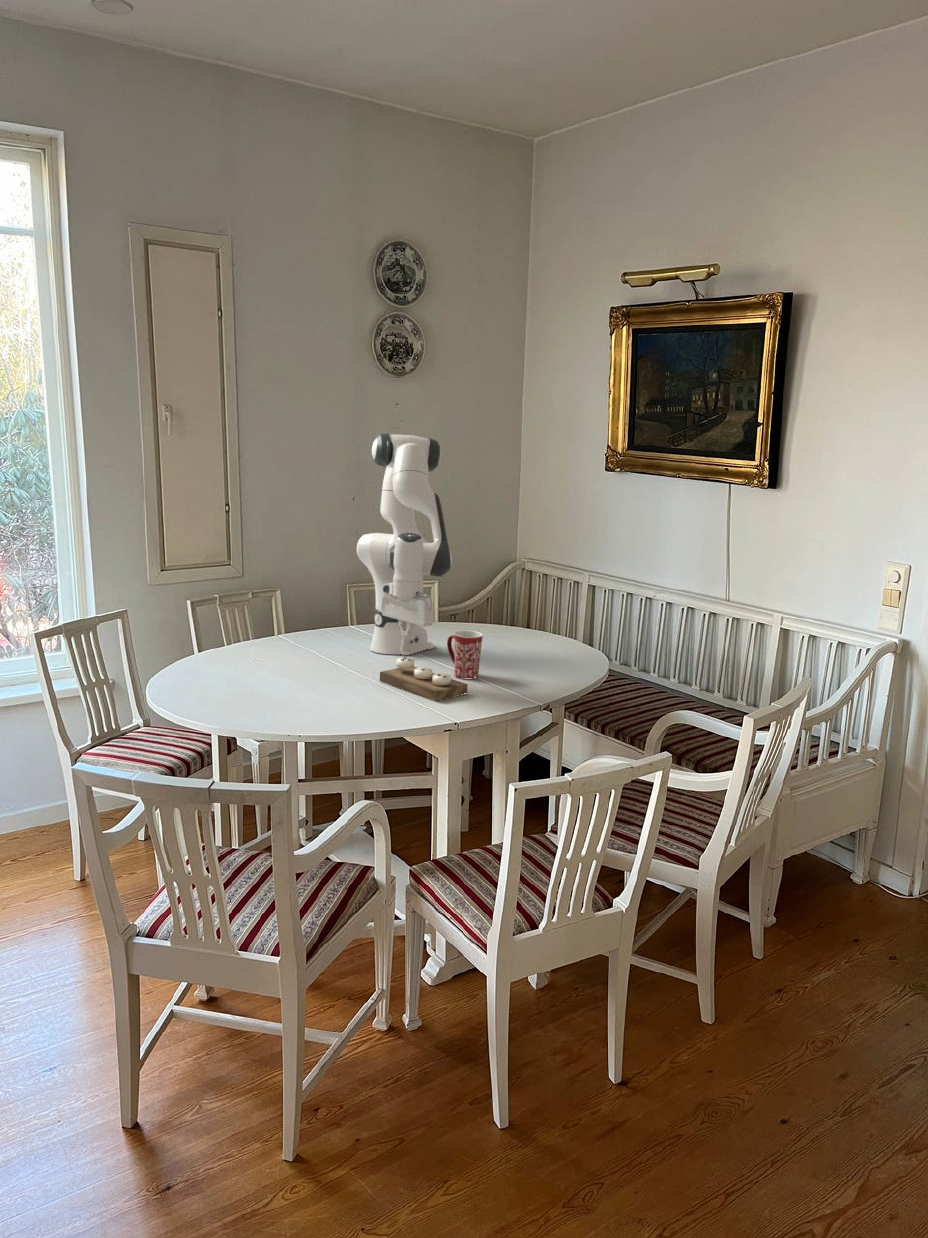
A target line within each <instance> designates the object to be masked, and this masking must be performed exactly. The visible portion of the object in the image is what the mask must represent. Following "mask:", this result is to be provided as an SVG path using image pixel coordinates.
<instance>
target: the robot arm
mask: <svg viewBox="0 0 928 1238" xmlns="http://www.w3.org/2000/svg"><path fill="white" fill-rule="evenodd" d="M371 456H372V460H373V462H374V463H375V464H376V465H377V466H380V467H383V468H385V471H384V476H383V481H382V487H381V498H380V507H379V508H380V509H379V512H380V515H381V517H382V519H384V520H385V521H386V522H388V523H389V524H390V525H391V527H392V530H393V531H392V532H393V534H392V533H383V532H373V533H372V532H371V533H365V534H362V536H361V537H360V538H359V539H358V541H357V545H356V555H357V557H358V560H360V561H361V562H362V564H364V565H365V566H366V567H367V570H368V572H369V573H370V575H371V578H372V580H373V584H374V589H375V590H374V591H375V607H374V608H373V620H374V626H373V627H374V628H373V635H372V638H371V639H372V640H371V644H370V646H369V650H370V651H372V652H374V653H378V654H382V655H400V654H401V656H411V655H414V653H415V654H417V652H418V653H421V652H424V651H423V650H425V651H427V650H426V649H428V650H430V649H431V650H432V649H435V644H434V643H433V642H431V641H429V640H428V633H427V630H426V629H425V627H430V626H432V625H433V624H434V620H435V617H434V616H435V615H434V605H433V599H432V598H431V597H430V594H428V593H424V576H431V577H438V578H441V577H443V576H445V575H446V574H447V573H448V572H449V571H450V570H451V567H452V564H453V557H452V553H451V552H452V551H451V549H450V547H449V546H450V545H449V541H448V537H447V531H446V523H445V519H444V513H443V508H442V503H441V500H440V497H439V495H438V494H437V493H436V492H434V491H433V490H432V487H431V486H430V481H429V472H433V471H434V470H435V469H437V468H438V466H439V463H440V461H441V457H442V450H441V445H440V443H439V442H438V441H437V440H436V439H434V438H430V437H423V436H418V435H412V434H392V433H391V434H389V433H378V435H377V436H376V437H375V438H374V440H373V443H372V447H371ZM415 511H417V512H419V513H421V514H423V515H425V516H426V517H427V518H428V520H429V522H430V526H431V531H432V538H433V542H428V540H426V539H425V538H424V537H423V535H422V534H421V533H420V531H419V529H418V527H417V523H416V519H415V517H416V516H415ZM420 651H421V652H420ZM410 654H411V655H410Z"/></svg>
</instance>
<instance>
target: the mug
mask: <svg viewBox="0 0 928 1238" xmlns="http://www.w3.org/2000/svg"><path fill="white" fill-rule="evenodd" d="M483 637H484V634H483V633H482V632H479V631H476V630H468V629H467V630H464V629H463V630H458V631H455V632H453V634H452V635H450V636H448V638H447V642H446V646H447V651H448V654H449V657H450V659H451V661H452V663H453V665H454V670H453V671H454V677H455V676H456V678H457V677H458V678H457V679H460V678H474V677H477V676H478V677H479V673H480V672H479V670H480V661H481V653H482V642H483ZM452 640H453V641H454V642H453V641H452ZM452 642H453V644H454V649H453V646H452ZM478 677H477V678H478Z"/></svg>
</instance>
